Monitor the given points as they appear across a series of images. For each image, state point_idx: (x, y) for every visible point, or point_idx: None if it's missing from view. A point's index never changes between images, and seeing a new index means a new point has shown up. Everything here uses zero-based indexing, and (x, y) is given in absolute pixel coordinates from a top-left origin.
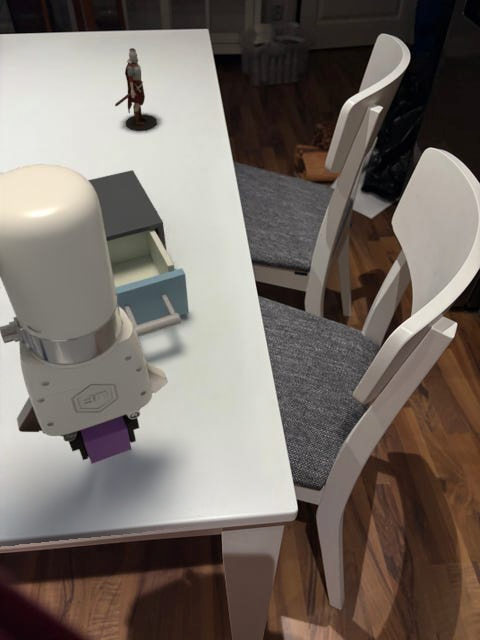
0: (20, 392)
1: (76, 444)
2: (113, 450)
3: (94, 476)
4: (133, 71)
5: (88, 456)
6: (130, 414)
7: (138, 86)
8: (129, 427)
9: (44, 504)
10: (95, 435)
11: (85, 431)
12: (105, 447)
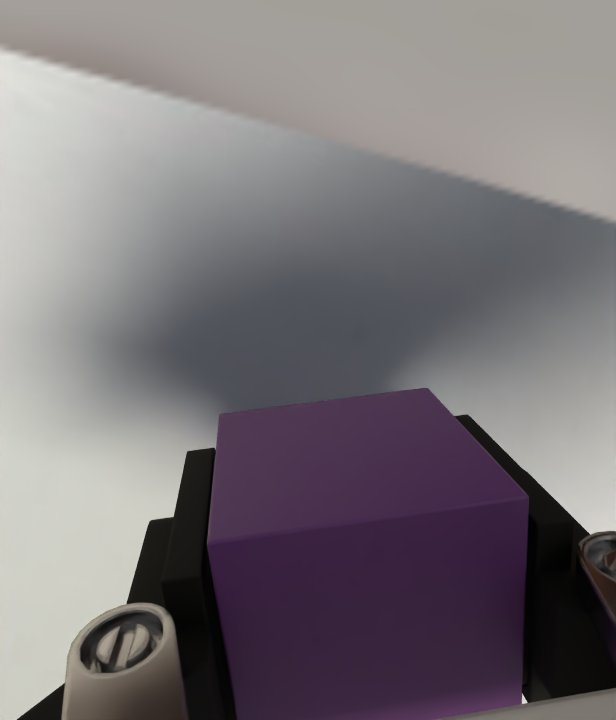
0: None
1: None
2: (316, 423)
3: (381, 370)
4: None
5: None
6: (149, 659)
7: None
8: (193, 540)
9: (560, 316)
10: (442, 534)
11: (499, 578)
12: (364, 444)
